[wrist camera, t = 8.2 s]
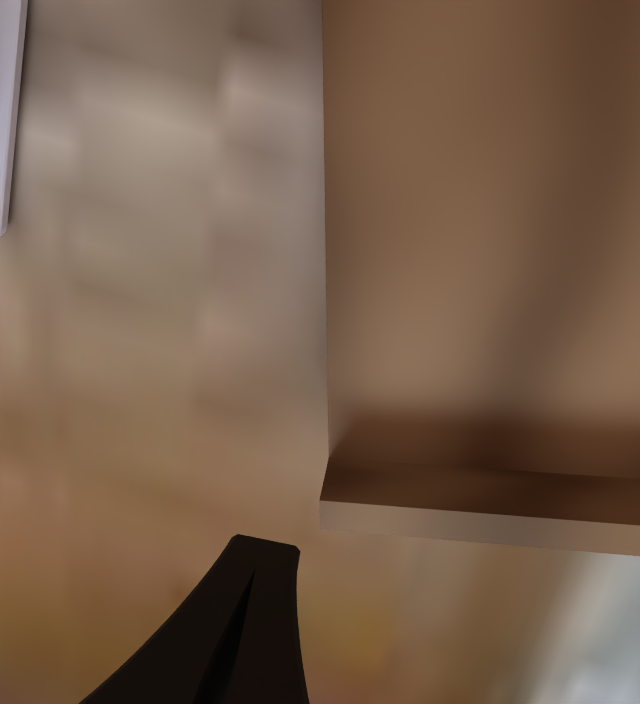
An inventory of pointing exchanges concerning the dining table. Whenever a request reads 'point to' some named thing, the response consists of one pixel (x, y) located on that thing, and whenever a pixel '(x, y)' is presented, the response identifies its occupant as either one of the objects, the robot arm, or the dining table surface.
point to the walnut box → (483, 271)
